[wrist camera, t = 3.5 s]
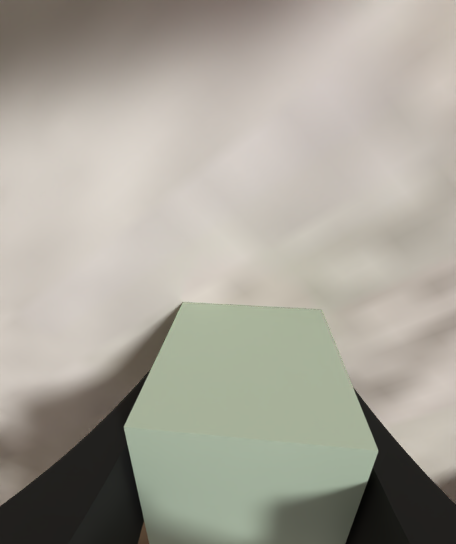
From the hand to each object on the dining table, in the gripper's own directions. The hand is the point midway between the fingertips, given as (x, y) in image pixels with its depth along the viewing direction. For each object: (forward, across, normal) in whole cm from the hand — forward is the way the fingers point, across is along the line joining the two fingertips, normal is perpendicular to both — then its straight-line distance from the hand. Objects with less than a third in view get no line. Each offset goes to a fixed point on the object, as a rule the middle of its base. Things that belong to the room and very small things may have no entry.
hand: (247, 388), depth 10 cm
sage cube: (+1, 0, 0) cm, 1 cm away
